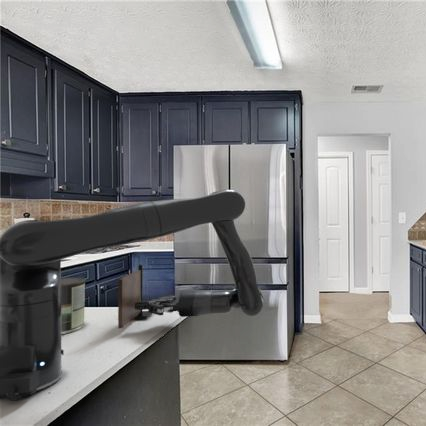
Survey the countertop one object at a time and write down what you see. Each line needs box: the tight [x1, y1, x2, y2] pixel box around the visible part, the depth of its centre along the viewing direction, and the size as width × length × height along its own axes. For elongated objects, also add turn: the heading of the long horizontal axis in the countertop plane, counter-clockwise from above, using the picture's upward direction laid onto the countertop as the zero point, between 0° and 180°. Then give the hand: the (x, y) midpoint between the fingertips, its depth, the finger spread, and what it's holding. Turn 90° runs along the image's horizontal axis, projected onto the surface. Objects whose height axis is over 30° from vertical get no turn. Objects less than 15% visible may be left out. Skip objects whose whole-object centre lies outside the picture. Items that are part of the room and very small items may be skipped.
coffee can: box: [61, 277, 86, 335], centre depth 88 cm, size 10×10×14 cm
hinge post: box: [132, 264, 153, 321], centre depth 98 cm, size 5×6×17 cm
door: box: [117, 269, 141, 329], centre depth 92 cm, size 13×1×14 cm, turn 10°
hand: (135, 305), depth 89 cm, fingers closed
